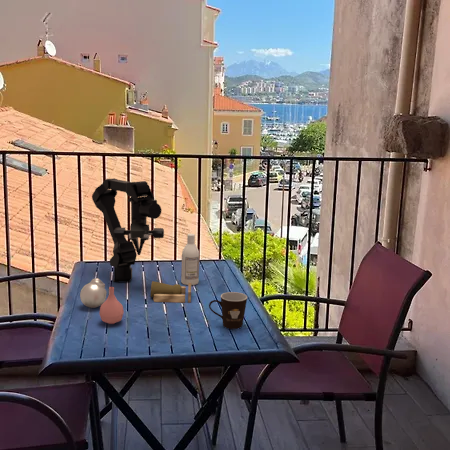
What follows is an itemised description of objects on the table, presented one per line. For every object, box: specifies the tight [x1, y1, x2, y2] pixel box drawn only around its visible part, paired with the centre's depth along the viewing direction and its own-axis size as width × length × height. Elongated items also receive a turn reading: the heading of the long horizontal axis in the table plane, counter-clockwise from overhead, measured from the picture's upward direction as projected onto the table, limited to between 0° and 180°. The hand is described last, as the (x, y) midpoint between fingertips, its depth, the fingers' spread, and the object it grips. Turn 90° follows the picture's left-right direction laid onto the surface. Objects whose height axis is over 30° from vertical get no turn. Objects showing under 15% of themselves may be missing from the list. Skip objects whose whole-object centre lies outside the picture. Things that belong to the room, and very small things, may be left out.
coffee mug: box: [208, 291, 248, 330], centre depth 184 cm, size 12×9×10 cm
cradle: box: [152, 283, 192, 304], centre depth 207 cm, size 14×10×4 cm
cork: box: [149, 280, 182, 298], centre depth 207 cm, size 6×6×11 cm
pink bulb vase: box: [98, 286, 125, 325], centre depth 181 cm, size 8×8×12 cm
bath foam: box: [180, 233, 200, 286], centre depth 223 cm, size 7×7×20 cm
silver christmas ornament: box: [79, 277, 108, 309], centre depth 194 cm, size 9×10×10 cm
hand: (139, 254), depth 214 cm, fingers closed
